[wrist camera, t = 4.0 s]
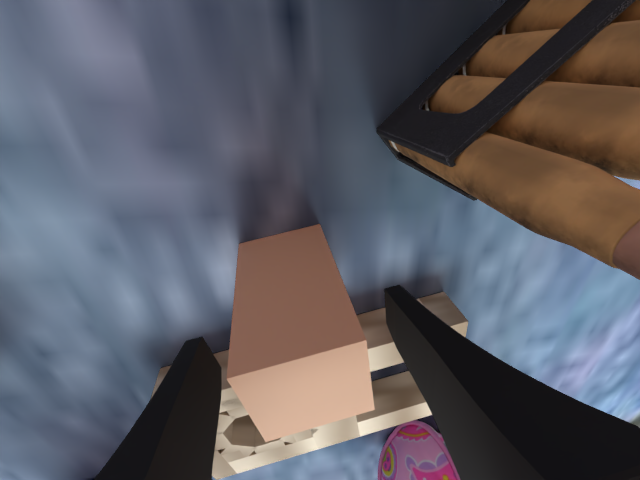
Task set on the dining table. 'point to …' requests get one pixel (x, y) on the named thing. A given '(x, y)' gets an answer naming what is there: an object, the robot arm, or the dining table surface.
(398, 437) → the pencil case
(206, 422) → the robot arm
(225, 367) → the socket plate
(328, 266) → the peg
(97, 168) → the dining table surface
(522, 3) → the ammunition clip
